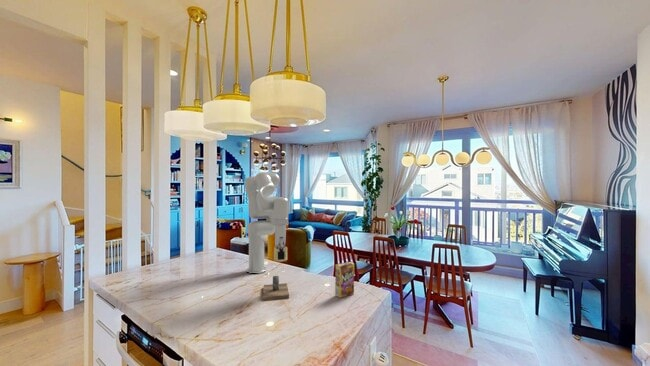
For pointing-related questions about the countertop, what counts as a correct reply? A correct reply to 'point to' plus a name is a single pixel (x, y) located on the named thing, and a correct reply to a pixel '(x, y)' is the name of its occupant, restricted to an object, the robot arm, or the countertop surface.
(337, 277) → the candy box
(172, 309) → the countertop surface
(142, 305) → the countertop surface
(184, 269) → the countertop surface
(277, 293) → the post stand
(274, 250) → the wooden cup
